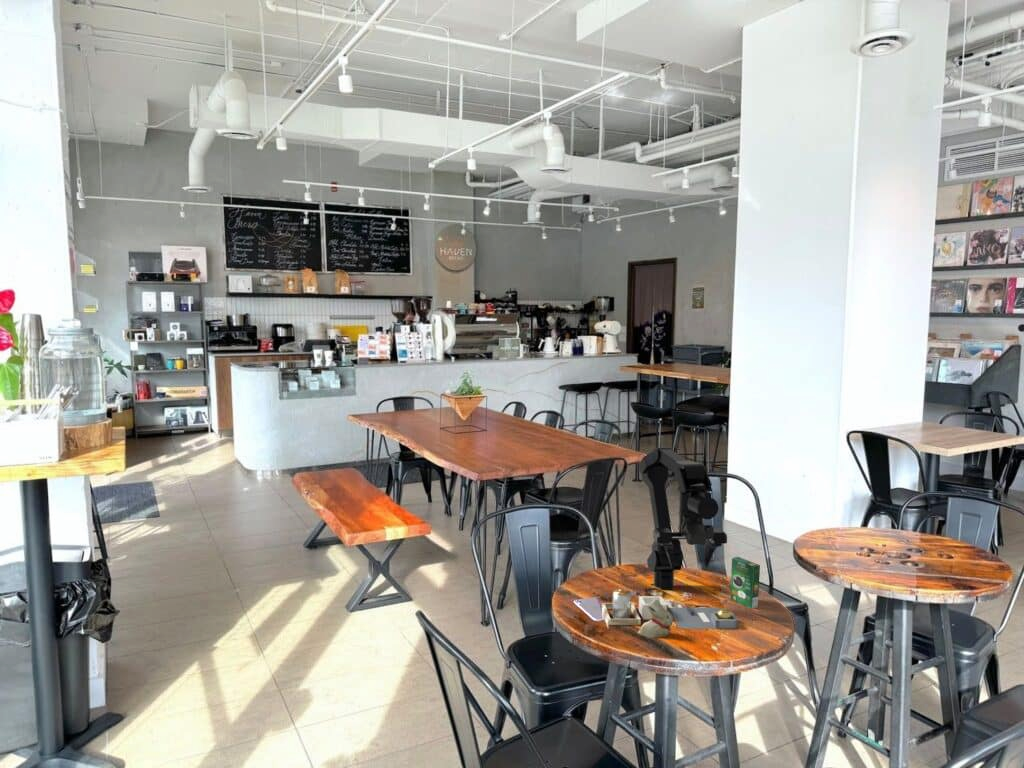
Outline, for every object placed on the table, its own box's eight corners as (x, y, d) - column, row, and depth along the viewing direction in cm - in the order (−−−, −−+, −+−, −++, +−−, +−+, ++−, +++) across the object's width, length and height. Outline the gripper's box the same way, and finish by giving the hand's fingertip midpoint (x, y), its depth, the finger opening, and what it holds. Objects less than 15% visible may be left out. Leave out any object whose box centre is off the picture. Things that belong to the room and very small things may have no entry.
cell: (613, 620, 185) (614, 592, 185) (611, 614, 189) (611, 586, 189) (630, 620, 185) (631, 592, 185) (628, 614, 189) (628, 586, 189)
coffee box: (759, 611, 194) (761, 564, 193) (752, 613, 193) (753, 565, 192) (737, 601, 201) (738, 555, 200) (729, 603, 200) (730, 557, 199)
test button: (715, 617, 184) (716, 607, 184) (728, 617, 184) (728, 607, 184) (719, 622, 181) (719, 612, 181) (732, 622, 181) (732, 612, 181)
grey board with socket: (664, 611, 194) (664, 600, 193) (721, 611, 194) (721, 600, 194) (677, 633, 180) (677, 620, 179) (738, 633, 180) (738, 620, 180)
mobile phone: (595, 619, 187) (572, 599, 201) (594, 622, 187) (572, 602, 201) (621, 615, 189) (596, 596, 203) (621, 619, 189) (596, 599, 203)
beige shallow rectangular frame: (602, 612, 193) (602, 602, 193) (632, 612, 193) (632, 602, 193) (608, 629, 182) (608, 619, 182) (640, 629, 182) (640, 619, 182)
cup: (638, 614, 191) (639, 596, 191) (661, 614, 192) (661, 596, 191) (643, 623, 185) (643, 604, 185) (666, 623, 186) (666, 604, 185)
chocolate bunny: (664, 646, 172) (665, 606, 171) (634, 638, 177) (635, 598, 176) (674, 639, 176) (674, 599, 176) (645, 631, 181) (645, 592, 180)
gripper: (662, 517, 185) (661, 577, 186) (734, 517, 185) (733, 577, 186) (653, 507, 196) (652, 563, 197) (721, 507, 196) (719, 563, 197)
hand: (689, 567), depth 194 cm, fingers open, 9 cm apart
